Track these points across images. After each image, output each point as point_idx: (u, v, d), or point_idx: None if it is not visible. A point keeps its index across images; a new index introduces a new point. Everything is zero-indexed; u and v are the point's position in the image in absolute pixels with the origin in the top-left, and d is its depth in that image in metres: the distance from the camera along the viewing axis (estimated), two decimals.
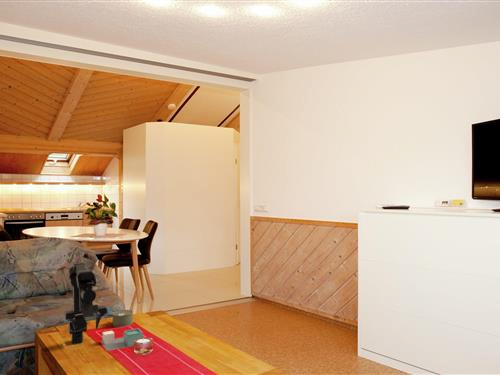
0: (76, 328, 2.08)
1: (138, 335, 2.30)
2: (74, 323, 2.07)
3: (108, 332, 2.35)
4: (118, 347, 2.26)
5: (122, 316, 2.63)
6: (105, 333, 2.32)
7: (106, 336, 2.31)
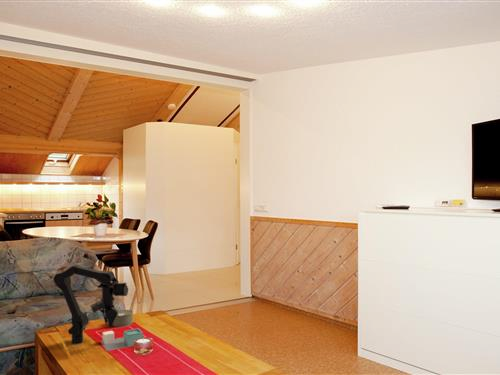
0: (104, 319, 2.38)
1: (138, 335, 2.30)
2: (103, 314, 2.38)
3: (108, 332, 2.35)
4: (118, 347, 2.26)
5: (122, 316, 2.63)
6: (105, 333, 2.32)
7: (106, 336, 2.31)
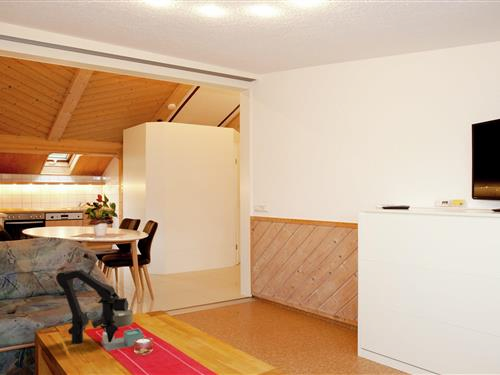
0: None
1: (138, 335, 2.30)
2: (104, 330, 2.37)
3: None
4: (118, 347, 2.26)
5: (122, 316, 2.63)
6: (105, 333, 2.32)
7: (106, 336, 2.31)
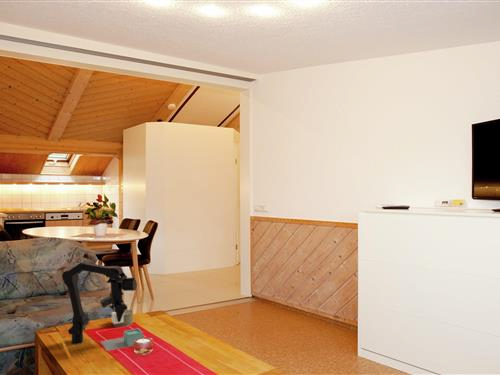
0: None
1: (138, 335, 2.30)
2: (113, 310, 2.36)
3: None
4: (118, 347, 2.26)
5: None
6: (114, 313, 2.32)
7: (115, 315, 2.31)
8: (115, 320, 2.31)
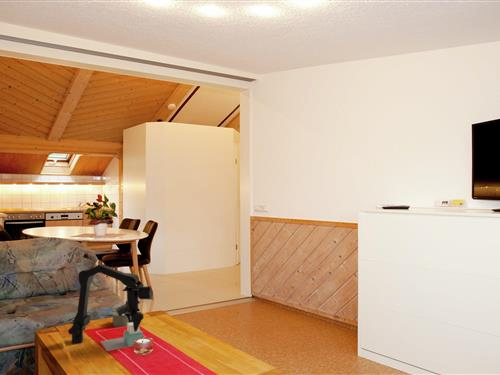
0: None
1: (138, 335, 2.30)
2: (127, 317, 2.37)
3: None
4: (118, 347, 2.26)
5: (122, 316, 2.63)
6: (130, 324, 2.31)
7: (131, 326, 2.30)
8: (131, 331, 2.30)
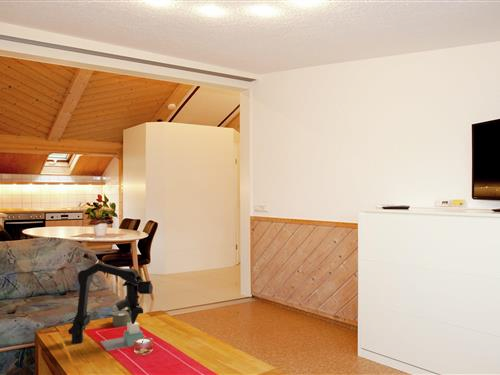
0: (131, 320, 2.32)
1: (138, 335, 2.30)
2: (129, 314, 2.33)
3: None
4: (118, 347, 2.26)
5: (122, 316, 2.63)
6: (130, 324, 2.31)
7: (131, 326, 2.30)
8: (131, 331, 2.30)
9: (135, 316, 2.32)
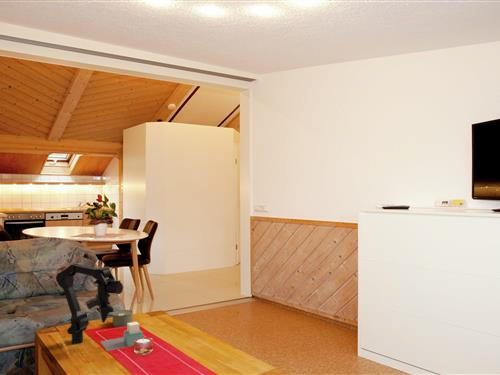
0: (101, 318, 2.30)
1: (138, 335, 2.30)
2: (100, 313, 2.30)
3: (133, 323, 2.33)
4: (118, 347, 2.26)
5: (122, 316, 2.63)
6: (130, 324, 2.31)
7: (131, 326, 2.30)
8: (131, 331, 2.30)
9: (105, 315, 2.29)
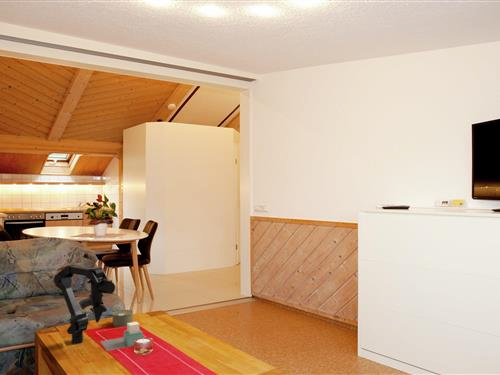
0: (95, 318, 2.29)
1: (138, 335, 2.30)
2: None
3: (133, 323, 2.33)
4: (118, 347, 2.26)
5: (122, 316, 2.63)
6: (130, 324, 2.31)
7: (131, 326, 2.30)
8: (131, 331, 2.30)
9: (99, 315, 2.29)
